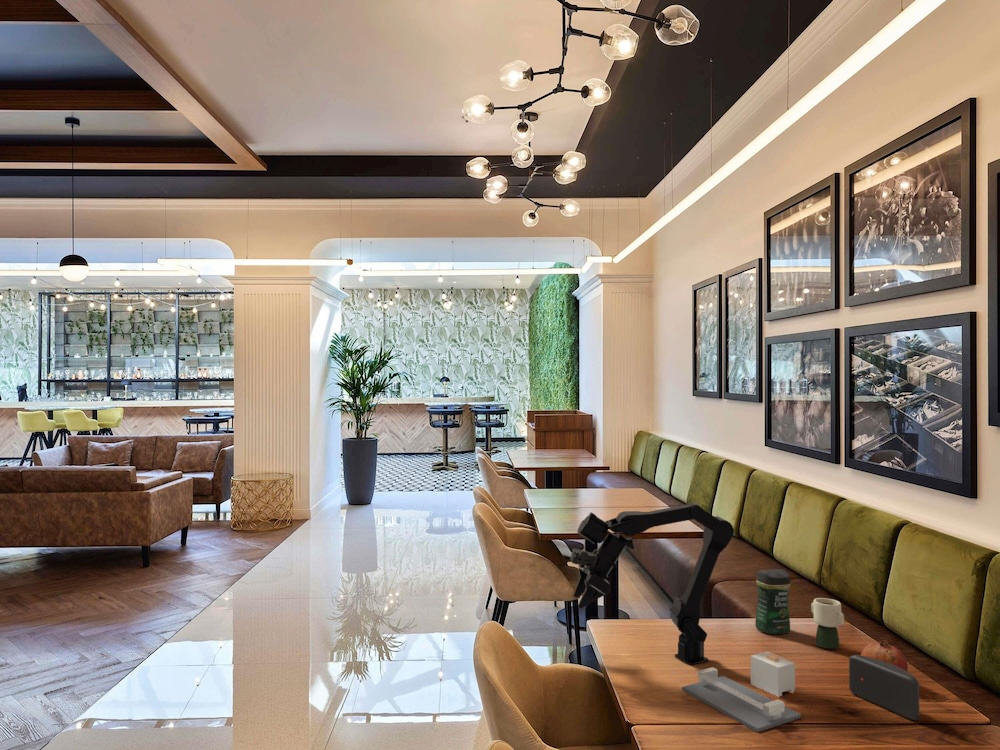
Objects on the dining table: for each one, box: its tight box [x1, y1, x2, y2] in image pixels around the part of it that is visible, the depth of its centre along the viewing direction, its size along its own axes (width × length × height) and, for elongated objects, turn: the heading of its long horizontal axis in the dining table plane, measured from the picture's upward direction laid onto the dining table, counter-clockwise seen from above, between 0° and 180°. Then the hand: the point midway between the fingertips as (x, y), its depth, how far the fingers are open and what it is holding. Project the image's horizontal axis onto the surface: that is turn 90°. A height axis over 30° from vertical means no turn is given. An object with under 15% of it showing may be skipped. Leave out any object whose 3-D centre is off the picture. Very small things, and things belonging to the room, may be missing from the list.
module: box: [750, 651, 796, 698], centre depth 157 cm, size 6×8×8 cm
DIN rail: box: [697, 667, 786, 721], centre depth 149 cm, size 5×21×3 cm, turn 28°
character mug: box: [810, 597, 845, 650], centre depth 184 cm, size 11×7×13 cm, turn 21°
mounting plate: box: [681, 675, 802, 733], centre depth 148 cm, size 14×22×1 cm, turn 28°
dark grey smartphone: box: [848, 654, 920, 721], centre depth 149 cm, size 16×5×9 cm, turn 26°
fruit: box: [860, 639, 909, 672], centre depth 162 cm, size 11×10×10 cm
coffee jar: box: [754, 568, 791, 635], centre depth 197 cm, size 10×8×19 cm
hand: (577, 602), depth 174 cm, fingers open, 9 cm apart
